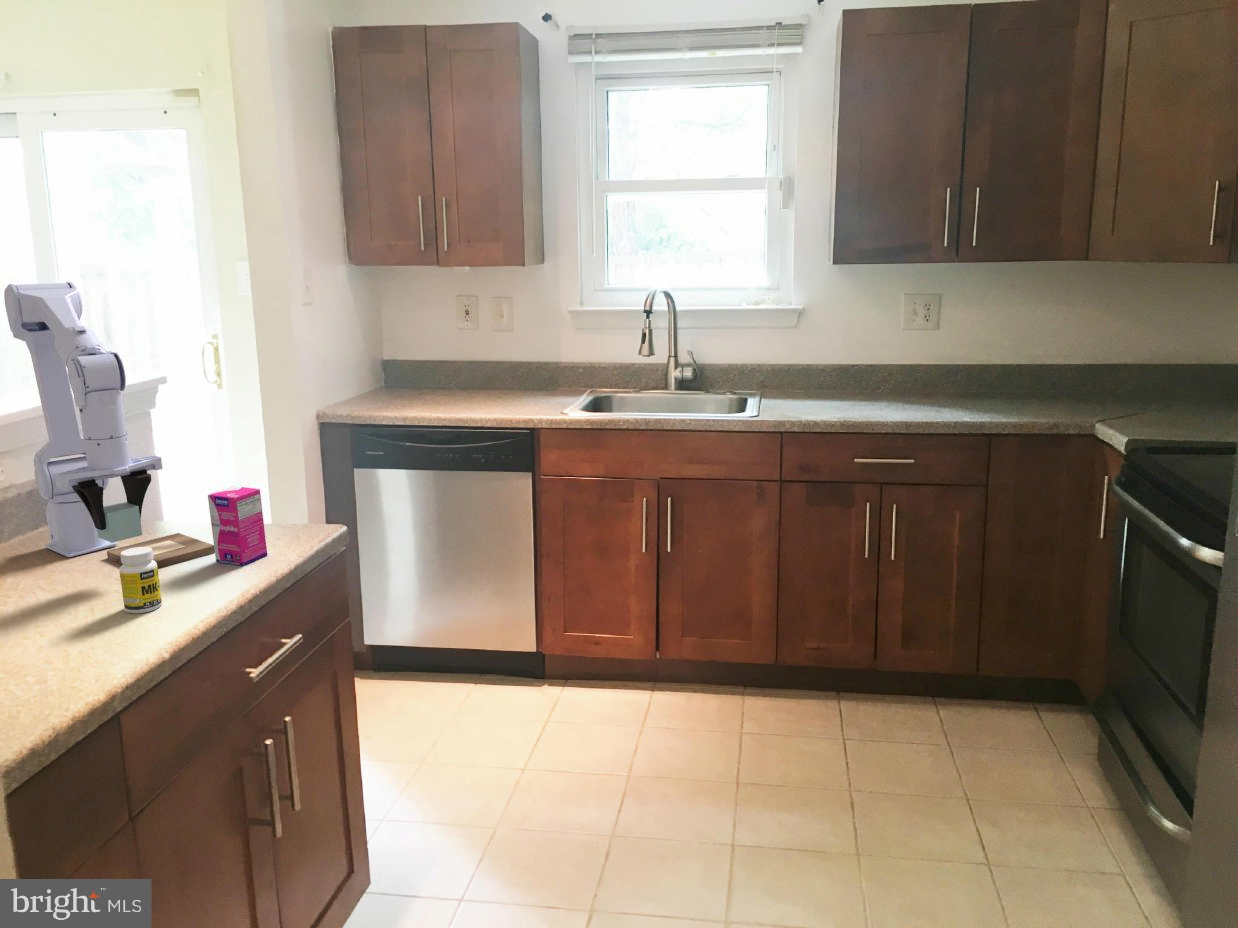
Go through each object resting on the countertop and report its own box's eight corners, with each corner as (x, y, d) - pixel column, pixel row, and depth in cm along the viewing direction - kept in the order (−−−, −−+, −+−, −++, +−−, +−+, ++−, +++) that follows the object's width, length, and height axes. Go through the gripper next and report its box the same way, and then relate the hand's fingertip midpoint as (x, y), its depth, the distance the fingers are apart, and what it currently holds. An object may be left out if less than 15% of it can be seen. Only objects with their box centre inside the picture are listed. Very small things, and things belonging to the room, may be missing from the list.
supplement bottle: (147, 615, 129) (139, 557, 128) (117, 613, 130) (108, 555, 128) (169, 602, 134) (162, 546, 132) (140, 600, 135) (132, 544, 133)
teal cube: (98, 537, 142) (93, 508, 141) (128, 529, 145) (124, 501, 144) (111, 542, 139) (107, 513, 138) (142, 535, 142) (138, 506, 141)
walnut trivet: (107, 557, 154) (106, 550, 154) (179, 539, 163) (178, 532, 163) (142, 572, 147) (141, 564, 146) (215, 552, 156) (214, 544, 155)
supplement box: (214, 562, 151) (205, 493, 148) (241, 551, 156) (233, 485, 153) (242, 567, 148) (234, 497, 146) (269, 555, 154) (261, 487, 151)
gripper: (64, 448, 131) (79, 541, 134) (167, 431, 142) (178, 517, 145) (43, 442, 135) (58, 532, 138) (144, 426, 146) (156, 510, 149)
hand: (118, 524), depth 142 cm, fingers closed on teal cube, 4 cm apart
